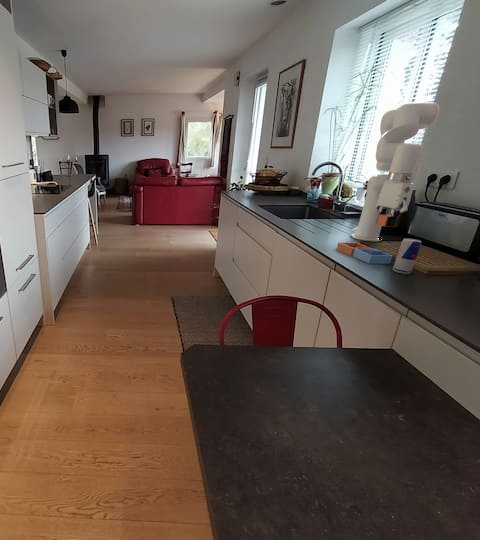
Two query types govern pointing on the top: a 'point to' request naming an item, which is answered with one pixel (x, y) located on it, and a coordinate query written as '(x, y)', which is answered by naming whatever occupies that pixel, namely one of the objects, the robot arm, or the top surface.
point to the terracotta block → (382, 219)
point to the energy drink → (407, 256)
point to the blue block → (373, 251)
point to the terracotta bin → (350, 247)
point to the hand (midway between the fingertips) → (384, 224)
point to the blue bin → (372, 257)
